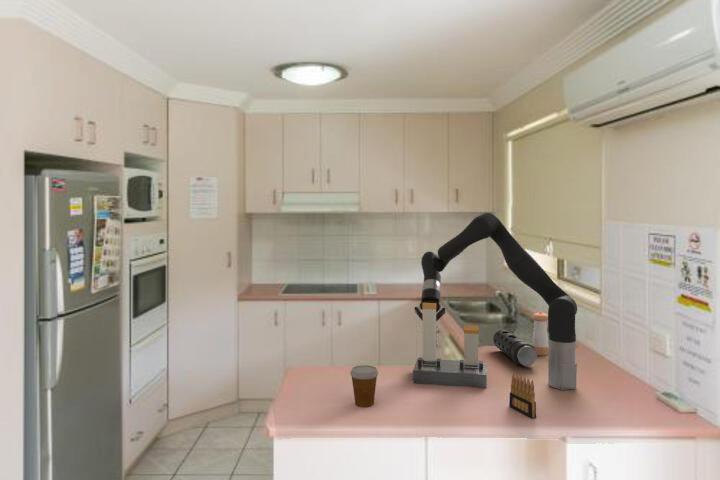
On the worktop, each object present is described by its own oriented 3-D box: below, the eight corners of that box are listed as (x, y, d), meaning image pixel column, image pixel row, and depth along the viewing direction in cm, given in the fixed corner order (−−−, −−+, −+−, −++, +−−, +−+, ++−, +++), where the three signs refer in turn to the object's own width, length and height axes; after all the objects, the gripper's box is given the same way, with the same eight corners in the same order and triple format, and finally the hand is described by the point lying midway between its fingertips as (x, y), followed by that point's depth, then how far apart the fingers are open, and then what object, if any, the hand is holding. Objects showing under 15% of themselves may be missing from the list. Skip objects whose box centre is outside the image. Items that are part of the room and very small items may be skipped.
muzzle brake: (512, 350, 238) (512, 328, 237) (538, 369, 210) (538, 344, 209) (492, 351, 237) (492, 329, 236) (516, 370, 209) (516, 345, 209)
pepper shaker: (528, 352, 235) (528, 310, 233) (539, 350, 238) (540, 309, 237) (540, 356, 228) (541, 313, 227) (552, 354, 231) (552, 312, 230)
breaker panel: (417, 370, 210) (417, 352, 209) (485, 374, 204) (485, 356, 204) (412, 383, 194) (412, 364, 194) (486, 388, 188) (486, 368, 188)
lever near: (464, 363, 199) (463, 325, 183) (478, 363, 198) (478, 325, 182) (464, 367, 197) (463, 330, 181) (478, 368, 196) (478, 330, 180)
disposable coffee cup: (349, 399, 179) (349, 365, 178) (377, 398, 179) (376, 364, 179) (351, 409, 169) (350, 373, 169) (379, 408, 170) (379, 373, 169)
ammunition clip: (536, 418, 162) (536, 380, 161) (531, 419, 161) (532, 381, 160) (513, 406, 172) (513, 370, 171) (509, 407, 171) (509, 371, 170)
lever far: (422, 363, 202) (422, 302, 201) (436, 363, 201) (436, 303, 200) (422, 364, 200) (422, 303, 199) (435, 365, 199) (435, 304, 197)
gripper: (447, 298, 214) (445, 334, 203) (415, 297, 217) (412, 333, 206) (447, 288, 208) (445, 324, 197) (414, 287, 211) (410, 323, 200)
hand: (428, 328), depth 202 cm, fingers closed
